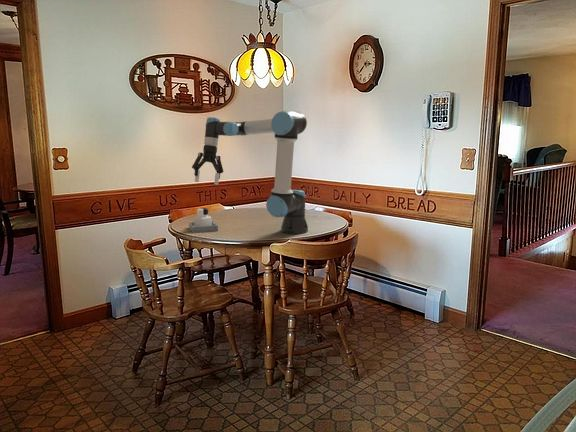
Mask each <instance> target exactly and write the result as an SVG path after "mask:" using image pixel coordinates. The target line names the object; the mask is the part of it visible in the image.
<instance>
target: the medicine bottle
mask: <svg viewBox="0 0 576 432" xmlns="http://www.w3.org/2000/svg"><path fill="white" fill-rule="evenodd" d="M196 213H197V214H196V216H194V217H193V222H194V227H201V226H212V221H213V220H212V218H213V217H212V216H210V215H209V209H208V208H206V207H201V208H200V207H199V208H198V209H197V210H196Z"/></svg>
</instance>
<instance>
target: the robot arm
mask: <svg viewBox="0 0 576 432" xmlns="http://www.w3.org/2000/svg"><path fill="white" fill-rule="evenodd" d="M307 125H308V120H307V118H306V116H305V115H304V114H303V113H302V112H301V111H294V110H293V111H292V110H291V111H290V110H281V111H278V112H277V113H276V114H274V115H273V117H272V118H268V119H267V118H265V119H258V120H247V121H221V119H220V118H217V117H212V116H209V117H207V118H206V123H205V130H204V131H205V134H204V140H203V141H204V142H203V144H204V145H203V149H202V150H203V151H202V152H198V154H197V157H196V158H195V160H194V162H193V164H192V166H191V168H192V169H193V170H194V174H193V175H194V183H200V181H199V180H200V173H201V170H200V169H201V167H202V166H203V165H204V164H205V163H211V164H212V166H213V168H214V169H215V175H214V185H216V186H218V185H219V181H220V178H221V174H222V173H224V168H223V164H222V161H221V156H220V155H217V153H218V144H219V137H220V136H224V137H225V136H227V137H234V136H243V137H244V136H248V135H250V136H251V135H261V134H271V133H272V134H273V133H274V139H275V141H276V154H275V155H276V158H275V170H274V184H273V185H274V187H273V188H272V189H271V191H270V196H269V197H268V198H267V200H266V203H265V206H266V207H265V208H266V210H267V212H268V213H269V214H270V216H272V217H274V218H283V219H282V222H281V226H280V232H281V233H285V234H292V235H293V234H295V235H296V234H304V233H305V234H306V233H307V232H309V227H308V226H309V225H308V223H307V219H306V193H305V191H304V190H301V189H299V190H298V189H292V176H293V174H292V173H293V162H294V161H293V160H294V151H295V150H294V149H295V148H294V147H295V142H296V141H297V140H298V135H300V134H302V133H303V132H304V131H305V130H306V128H307Z"/></svg>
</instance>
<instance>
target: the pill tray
mask: <svg viewBox="0 0 576 432" xmlns="http://www.w3.org/2000/svg"><path fill="white" fill-rule="evenodd" d="M188 228H189V229H190V231H191V232H193V233H196V232H197V233H205V232H207V233H208V232H219V224H217V223H216V222H215V221H214V220H212V226H201V227H194V221H193V222H192V221H191V222H188ZM193 233H192V234H193ZM197 233H196V234H197Z"/></svg>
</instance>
